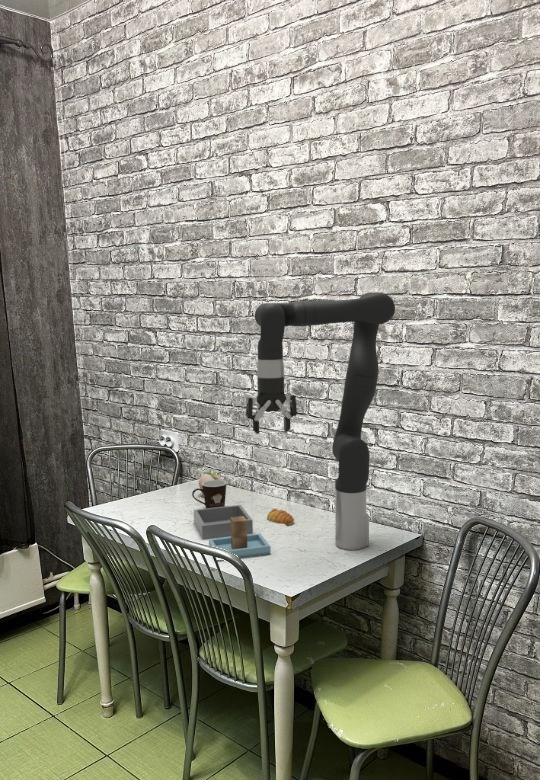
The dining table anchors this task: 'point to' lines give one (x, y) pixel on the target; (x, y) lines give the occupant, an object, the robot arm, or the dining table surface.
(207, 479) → the decorative fruit
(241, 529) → the walnut block
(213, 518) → the low gray crate
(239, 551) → the shallow blue tray
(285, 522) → the pastry
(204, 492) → the coffee mug
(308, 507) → the dining table surface
